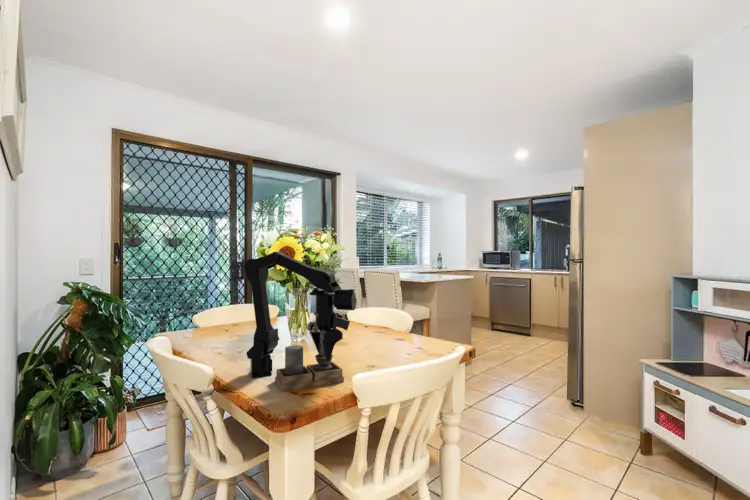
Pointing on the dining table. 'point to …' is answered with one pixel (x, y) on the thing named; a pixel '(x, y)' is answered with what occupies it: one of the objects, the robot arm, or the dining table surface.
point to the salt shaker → (322, 359)
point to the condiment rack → (304, 372)
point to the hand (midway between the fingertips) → (323, 356)
